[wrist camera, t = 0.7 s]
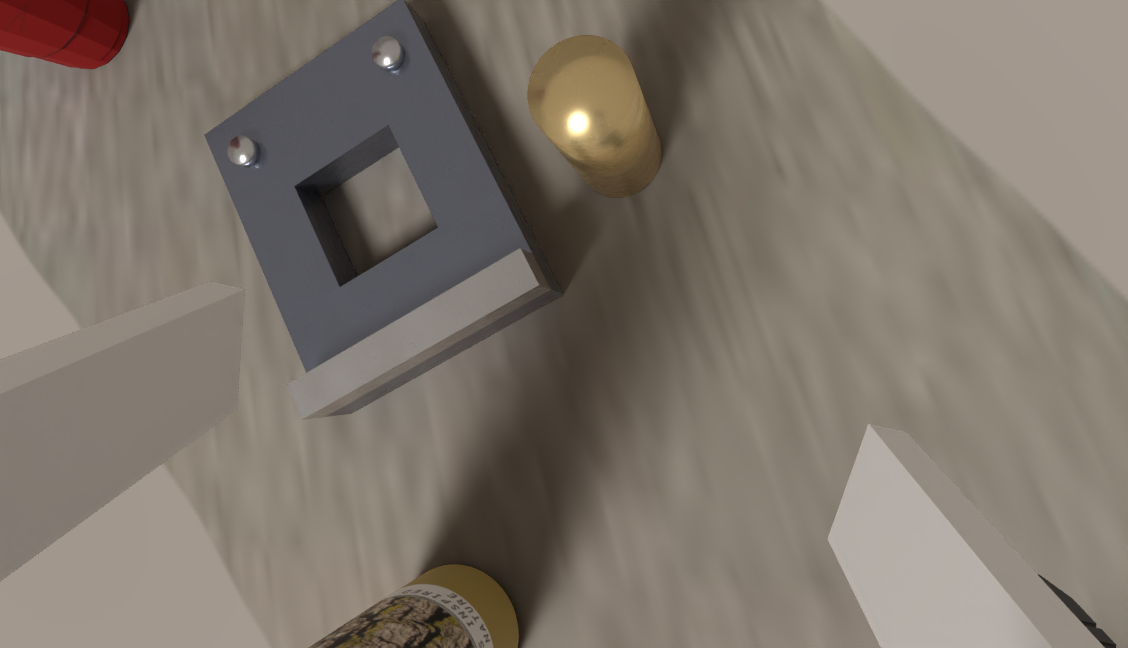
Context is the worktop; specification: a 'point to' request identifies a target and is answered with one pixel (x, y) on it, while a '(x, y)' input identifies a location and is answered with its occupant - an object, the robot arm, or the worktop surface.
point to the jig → (414, 274)
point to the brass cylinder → (596, 114)
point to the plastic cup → (64, 30)
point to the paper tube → (435, 615)
